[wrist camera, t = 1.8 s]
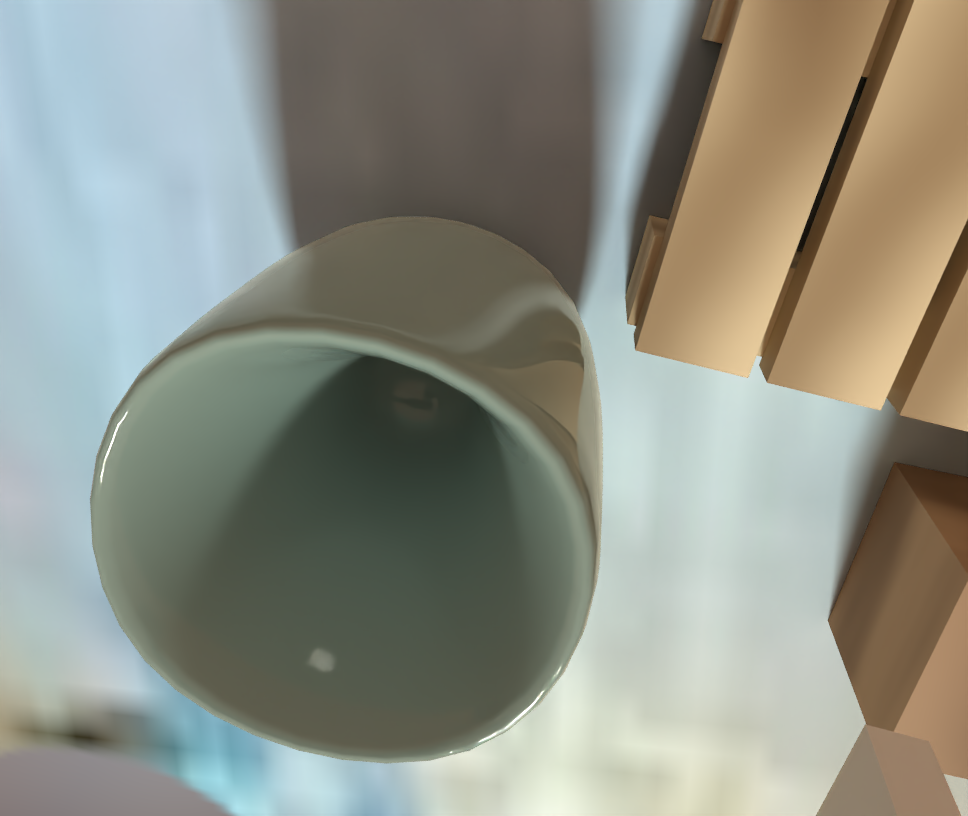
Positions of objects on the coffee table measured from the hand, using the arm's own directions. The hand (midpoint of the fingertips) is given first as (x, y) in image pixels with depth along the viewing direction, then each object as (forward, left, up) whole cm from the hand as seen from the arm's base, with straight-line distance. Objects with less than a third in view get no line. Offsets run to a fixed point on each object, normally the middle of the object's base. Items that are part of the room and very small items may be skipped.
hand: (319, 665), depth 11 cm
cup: (0, 0, -12) cm, 12 cm away
